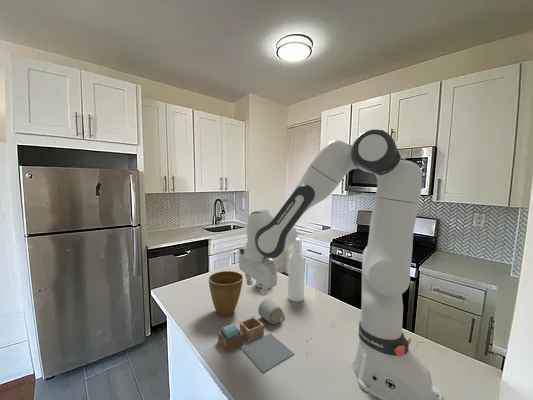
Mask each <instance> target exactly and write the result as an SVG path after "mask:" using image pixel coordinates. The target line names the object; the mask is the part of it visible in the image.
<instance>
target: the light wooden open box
mask: <svg viewBox="0 0 533 400" xmlns="http://www.w3.org/2000/svg"><path fill="white" fill-rule="evenodd" d="M239 330H240V331H241V332H242V333H243V338H245V339H246V341H248V342H249V343H251V342H253V340H254V341H255V339H256V340H257V339H259V338H261V337H263V336H264V335H265V325H264V323H262V322H261V321H260V320H259V319H258V318H256V317H255V316H252V317H249V318H248V319H245V320H242V321H240V322H239Z"/></svg>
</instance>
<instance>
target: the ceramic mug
mask: <svg viewBox="0 0 533 400" xmlns="http://www.w3.org/2000/svg"><path fill="white" fill-rule="evenodd" d="M257 311H258V315H259V316H260V317H261V318H263V319H264V320H266V321H267V323H269V324H271V325H277V324H278V323H279V322H280V321H281V320H282V319H283V318H284V317H285V315H286V313H285V312H284V311H283V309H282V307H280V305H278V304H277V303H276V302H274V301H273V300H272V299H270V298H265V299H263V300H262V301H261V302H260V303H259V306H258V310H257Z"/></svg>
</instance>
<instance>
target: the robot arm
mask: <svg viewBox="0 0 533 400" xmlns="http://www.w3.org/2000/svg"><path fill="white" fill-rule="evenodd" d="M352 170H355V171H360V172H363V173H367V174H374V175H375V177H376V180H377V185H376V191H375V197H374V202H373V207H372V211H371V212H372V213H371V217H370V222H369V231H368V232H369V233H368V239H367V245H366V246H365V248H364V250H363V252H362V258H361V259H362V261H361V263H362V264H361V307H360V309H361V310H360V320H359V323H358V324H359V325H358V338H359V341H358V347H357V351H356V355H355V359H354V361H353V365H352V366H353V370H354V373H355V374H356V376H357V379H358V381H357V382H358V383H357V384H358V387H359V388H360V389H362V390H364V392H367V393H369V394H370V395H372V396H373V397H375V398H377V399H379V400H443V394H442V391H441V390H440V389H439V388H438V387H437V386H436V385H435V384H434V383H433V380H432V375H431V373H430V371H429V369H428V368H427V367H426V366H425V365H424V364H423V362H421V360H420V359H419V358H418V357H417V356H416V355H415V353H414V352H413V351H412V350H411V349H410V348H409V346H410V344H411V343H412V338H411V337H409V338H408V339H407V338H406V337H405V334H404V332H403V317H404V316H403V314H404V304H403V303H404V302H403V294H404V293H405V292H406V291H407V290H408V288H409V287H410V284H411V269H412V268H411V266H412V260H413V259H412V258H413V247H414V246H413V245H414V244H413V242H414V230H415V226H416V225H415V224H416V219H417V216H418V211H419V205H420V202H421V201H420V200H421V197H422V196H421V195H422V187H423V186H422V185H423V182H422V181H423V175H422V173H423V172H422V168H421V167H420V166H419V164H417V163H415V162H414V161H411V160H405V159H402V157H401V154H400V152H399V150H398V147H397V145H396V143H395V140H394V138H393V137H392V136H391V134H389V133H388V132H386V131H384V130H381V129H377V128H376V129H373V128H372V129H369V130H366V131H364V132H362V133H361V134H359V135H358V136H357V137H356V138H355V140H354V141H353V143H352V144H349V143H346V142H345V141H342V140H339V139H334V140H331V141H329V142H328V143H326V145H325V146H324V147H322V149H321V150H320V151H319V152H318V153H317V155H316V156H314V159H313V160H312V161H311V163H310V164H309V166H307V168H306V170H305V172H304V173H303V175H302V177H300V180H299V182H298V183H297V185H296V187H295V188H294V190H293V192H292V193H291V195H290V196H289V198H288V199H287V200H286V202H284V204H283V206H282V207H281V208H280V210H278V212H277V214H276V215H274V214H273V213H272V212H271V211H269V210H268V209H267V210H266V209H263V210H255V211H252V212H250V214H249V215H248V219H247V225H246V226H247V227H246V237H247V239H246V244H245V246H244V247H239V248H238V252H239V255H238V256H239V257H238V258H239V259H238V267H239V269H240V271H242V272H243V273H244V277H245V280H246V284H247V285H248V286H252V285H253V280H255V281H256V280H257V281H258V282H260V283H261V284H262V287H263V288H260V291H259V292H260V293H259V294H260V295H261V296H263V297H264V296H266V295H267V294H268V289H271V288H274V287H276V286H277V284H278V272H277V265H276V264H275V263H274V260H273V259H275V258H278V257H279V256H281V254H282V253H283V252H284V251H286V250H288V249H289V248H290V247H291V246H293V243H294V242H295V240H296V238H298V237H297V230H296V228H295V225H296V224H297V222H298V221H299V220H300V219H301V218H302V217H303V215H304V214H305V213H306V212H307V211H308V210H309V209H311V208H312V207H314V206H315V205H317V204H319V203H321V202H322V201H324V200H325V199H327V198H328V197H329V196H330V195H331V194H332V193H333V192H334V191H335V190H336V189H337V188H338V186H339V184H340V183H341V182H342V181H343V179H344V177H346V176H347V174H348V173H349V172H351V171H352ZM269 258H271V259H272V260H273V261H272V260H270V259H269Z"/></svg>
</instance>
